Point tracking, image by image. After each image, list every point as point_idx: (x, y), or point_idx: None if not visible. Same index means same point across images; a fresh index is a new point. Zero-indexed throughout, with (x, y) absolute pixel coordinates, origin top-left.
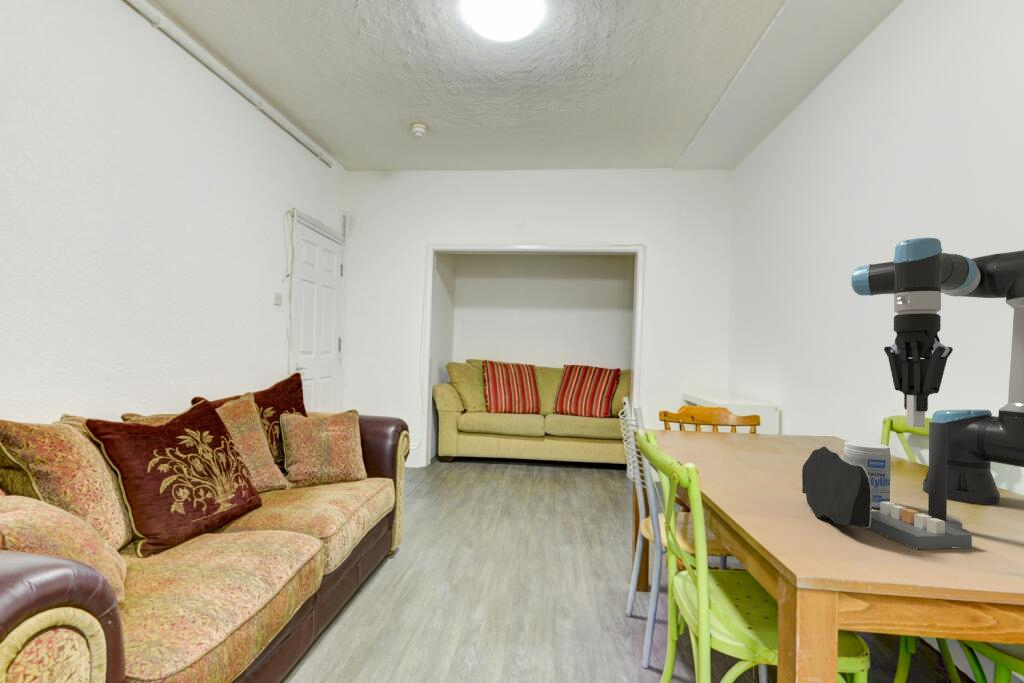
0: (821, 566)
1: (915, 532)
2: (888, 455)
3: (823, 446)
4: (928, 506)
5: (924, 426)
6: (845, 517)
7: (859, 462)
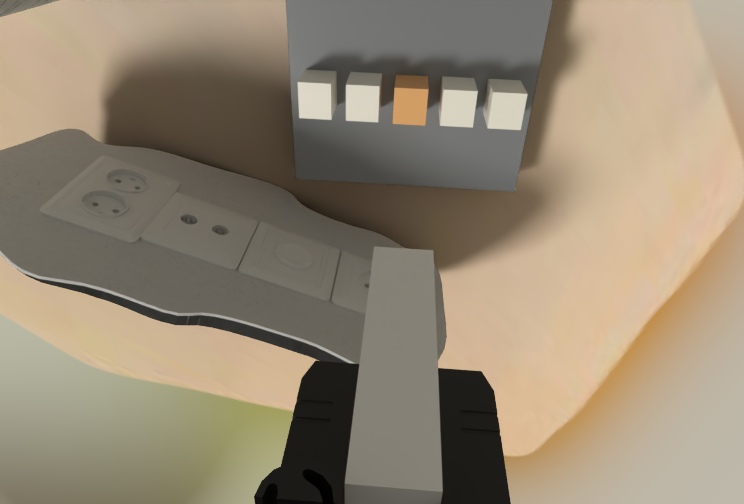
0: (517, 418)
1: (488, 166)
2: None
3: (17, 267)
4: None
5: (432, 254)
6: None
7: None
